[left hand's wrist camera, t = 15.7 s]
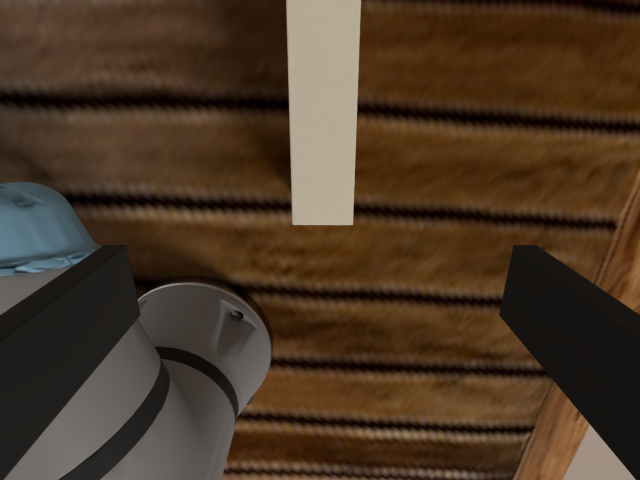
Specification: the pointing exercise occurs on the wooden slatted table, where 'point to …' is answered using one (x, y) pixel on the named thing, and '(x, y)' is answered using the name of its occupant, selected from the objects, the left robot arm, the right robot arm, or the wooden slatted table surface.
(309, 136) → the beam
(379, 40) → the wooden slatted table surface
